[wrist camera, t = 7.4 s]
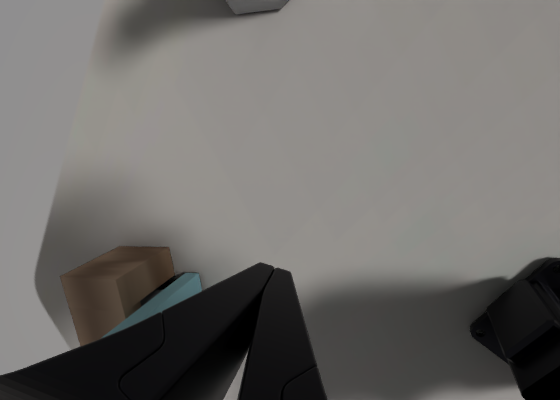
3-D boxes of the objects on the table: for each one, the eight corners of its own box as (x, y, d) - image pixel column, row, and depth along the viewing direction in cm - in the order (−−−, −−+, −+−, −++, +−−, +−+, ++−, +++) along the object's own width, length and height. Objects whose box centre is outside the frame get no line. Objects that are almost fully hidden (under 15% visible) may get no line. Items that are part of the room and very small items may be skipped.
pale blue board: (200, 271, 27) (89, 362, 17) (211, 328, 28) (113, 441, 18) (137, 268, 29) (9, 348, 19) (150, 321, 30) (35, 419, 21)
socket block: (169, 247, 27) (115, 279, 22) (189, 345, 29) (145, 395, 24) (119, 246, 29) (59, 276, 24) (142, 338, 31) (91, 384, 26)
